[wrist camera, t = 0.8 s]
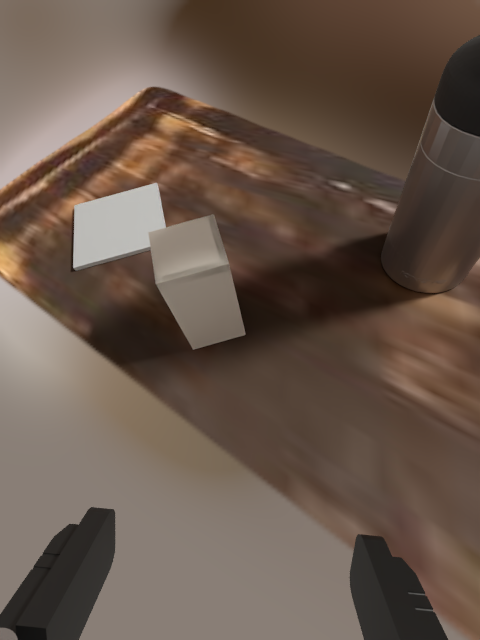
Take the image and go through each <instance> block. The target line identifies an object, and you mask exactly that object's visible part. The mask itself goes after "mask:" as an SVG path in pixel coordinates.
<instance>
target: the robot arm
mask: <svg viewBox="0 0 480 640" xmlns="http://www.w3.org/2000/svg"><path fill="white" fill-rule="evenodd" d="M479 258H480V35H479V36H477V37H475V38H473V39H471V40H470V41H468V42H466V43H465V44H464V45H462V46H461V47H460V48H459V49H457V51H456V52H455V53H454V54H453V55H452V57H451V58H450V59H449V61H448V63H447V65H446V67H445V69H444V71H443V74H442V76H441V79H440V82H439V85H438V88H437V91H436V94H435V98H434V100H433V103H432V106H431V109H430V112H429V115H428V117H427V120H426V124H425V126H424V129H423V132H422V135H421V139H420V142H419V144H418V147H417V150H416V153H415V156H414V159H413V162H412V165H411V168H410V171H409V174H408V177H407V179H406V182H405V185H404V188H403V191H402V194H401V197H400V200H399V203H398V206H397V209H396V211H395V214H394V217H393V220H392V223H391V226H390V229H389V231H388V234H387V237H386V240H385V243H384V246H383V249H382V253H381V262H382V266H383V268H384V270H385V271H386V273H387V274H388V275H389V276H390V277H391V279H393V280H394V281H395V282H397V283H398V284H399V285H401V286H404V287H406V288H408V289H411V290H414V291H417V292H424V293H438V292H444V291H447V290H450V289H452V288H454V287H456V286H457V285H459V284H460V283H461V282H462V281H463V280H464V278H465V277H466V276H467V274H468V273H469V271H470V270H471V269H472V267H473V266H474V265H475V263H476V262H477V260H478V259H479ZM114 553H115V511H114V510H113V509H104V508H94V507H91V508H90V509H89V510H88V511H87V513H86V514H85V516H84V517H83V519H82V521H81V522H80V524H79V525H76V524H69V525H68V526H67V527H66V528H64V529H63V530H62V531H60V532H59V533H58V534H57V535H56V536H54V538H53V539H52V540H51V542H50V543H49V545H48V546H47V548H46V549H45V551H44V552H43V555H42V556H40V558H39V559H38V561H37V562H36V564H35V565H34V568H33V570H31V571H30V572H29V574H28V575H27V577H26V578H25V580H24V581H23V582H22V584H21V585H20V587H19V588H18V590H17V591H16V593H15V594H14V596H13V597H12V599H11V600H10V601H9V603H8V604H7V606H6V607H5V609H4V610H3V612H2V613H1V614H0V640H79V638H80V636H81V633H82V631H83V629H84V627H85V624H86V622H87V620H88V617H89V615H90V613H91V611H92V609H93V606H94V604H95V602H96V600H97V597H98V595H99V593H100V591H101V589H102V586H103V584H104V582H105V580H106V577H107V575H108V573H109V570H110V568H111V565H112V562H113V558H114ZM350 588H351V593H352V598H353V601H354V605H355V609H356V612H357V615H358V619H359V623H360V626H361V630H362V634H363V637H364V640H448V638H447V636H446V634H445V633H444V630H443V628H442V626H441V624H440V622H439V620H438V618H437V616H436V614H435V613H434V612H433V608H432V606H431V604H430V602H429V600H428V598H427V596H425V592H424V590H423V588H422V586H421V584H420V582H419V580H418V577H417V575H416V574H415V573H414V571H413V570H412V569H411V568H410V567H409V566H408V565H407V564H406V562H405V561H404V560H403V559H402V558H399V557H392V555H391V553H390V551H389V548H388V546H387V544H386V542H385V540H384V538H383V537H380V536H370V535H360V534H358V535H357V537H356V542H355V547H354V553H353V558H352V564H351V570H350Z"/></svg>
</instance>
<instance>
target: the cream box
mask: <svg viewBox="0 0 480 640" xmlns="http://www.w3.org/2000/svg"><path fill="white" fill-rule="evenodd" d="M148 234H149V241H150V248H151V255H152V261H153V268H154V275H155V282H156V285H157V287H158V289H159V291H160V292H161V294H162V296H163V298H164V299H165V301H166V303H167V305H168V306H169V308H170V310H171V312H172V314H173V315H174V317H175V319H176V321H177V322H178V324H179V326H180V328H181V329H182V331H183V333H184V335H185V336H186V338H187V340H188V342H189V343H190V345H191V347H192V349H193V350H194V349H198V348H201V347H205V346H208V345H212V344H215V343H219V342H222V341H226V340H229V339H233V338H236V337H240V336H243V335H246V333H245V329H244V325H243V321H242V316H241V312H240V308H239V304H238V300H237V295H236V291H235V287H234V283H233V279H232V274H231V270H230V266H229V262H228V259H227V256H226V252H225V249H224V246H223V243H222V239H221V236H220V233H219V230H218V226H217V223H216V220H215V217H214V214H213V215H209V216H206V217H202V218H199V219H195V220H191V221H188V222H184V223H180V224H177V225H173V226H170V227H166V228H162V229H159V230H155V231H151V232H148Z"/></svg>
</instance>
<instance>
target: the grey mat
mask: <svg viewBox="0 0 480 640" xmlns="http://www.w3.org/2000/svg"><path fill="white" fill-rule="evenodd" d="M162 228H166V225H165V220H164V215H163V210H162V204H161V199H160V194H159V188H158V185H157V183H154V184H151V185H147V186H144V187H140V188H136V189H133V190H129V191H125V192H122V193H118V194H114V195H111V196H107V197H103V198H100V199H96V200H92V201H89V202H85V203H81V204H78V205H75V210H74V253H73V268H74V270H75V271H77V270H81V269H84V268H88V267H91V266H95V265H99V264H102V263H106V262H109V261H113V260H117V259H120V258H124V257H127V256H131V255H135V254H138V253H142V252H145V251H149V250H151V248H150V241H149V234H148V232H151V231H155V230H159V229H162Z"/></svg>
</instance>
